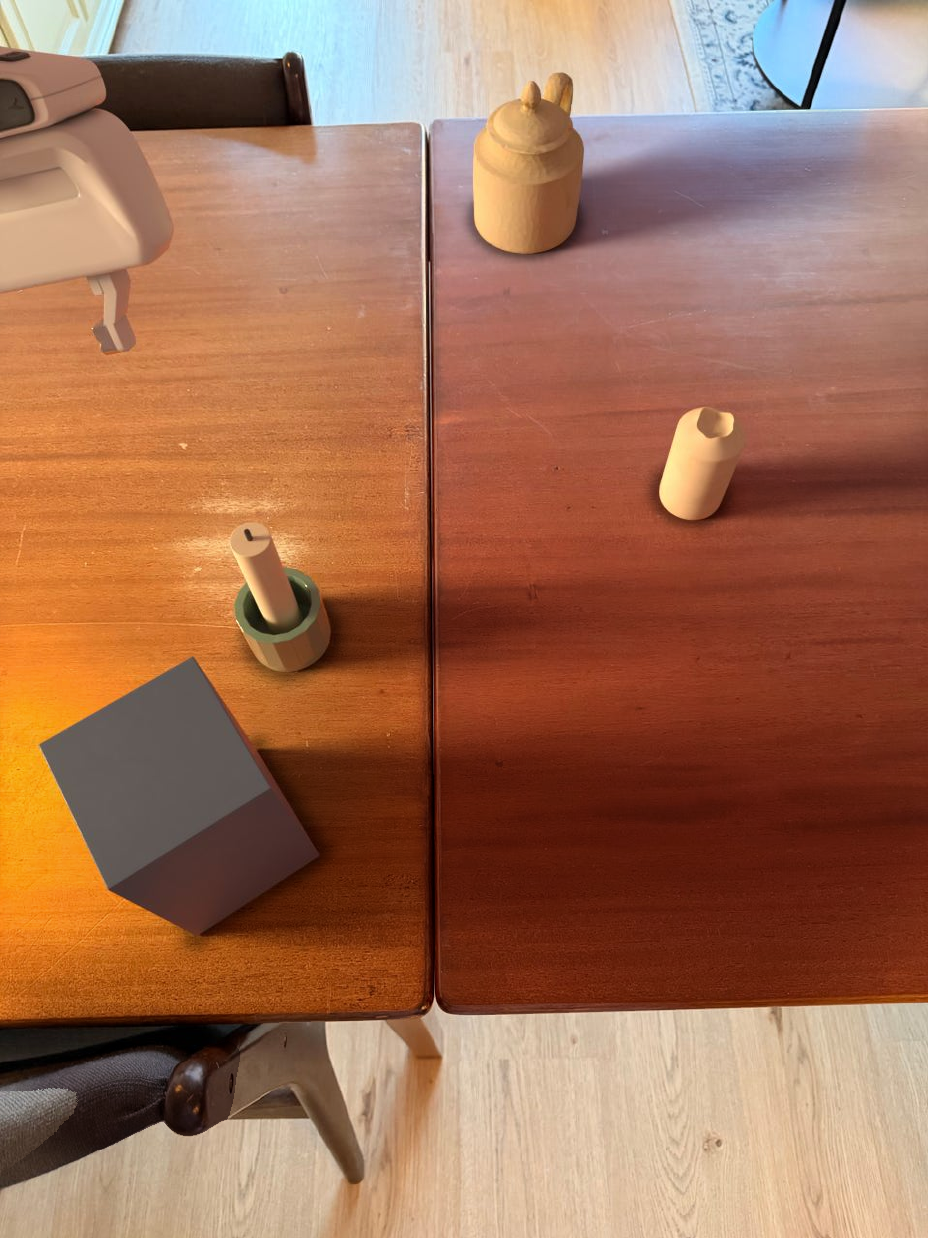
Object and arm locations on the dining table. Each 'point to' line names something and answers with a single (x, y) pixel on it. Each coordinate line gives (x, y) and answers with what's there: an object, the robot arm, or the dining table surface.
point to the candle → (701, 462)
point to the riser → (177, 801)
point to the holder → (292, 646)
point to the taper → (266, 577)
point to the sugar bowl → (529, 170)
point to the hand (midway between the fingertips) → (51, 362)
